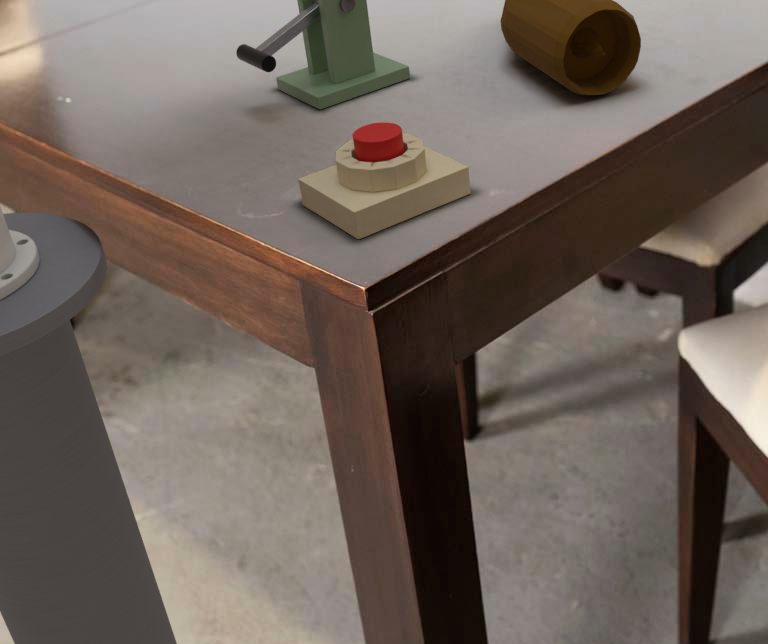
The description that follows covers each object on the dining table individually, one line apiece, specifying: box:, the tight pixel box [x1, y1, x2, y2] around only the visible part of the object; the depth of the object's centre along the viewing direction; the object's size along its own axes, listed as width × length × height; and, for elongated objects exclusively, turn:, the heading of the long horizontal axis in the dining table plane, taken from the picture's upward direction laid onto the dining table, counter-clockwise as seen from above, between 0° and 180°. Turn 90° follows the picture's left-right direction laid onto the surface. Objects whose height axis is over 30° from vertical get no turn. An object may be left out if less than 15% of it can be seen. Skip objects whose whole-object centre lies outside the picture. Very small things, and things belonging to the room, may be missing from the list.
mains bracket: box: [275, 0, 411, 110], centre depth 102 cm, size 10×8×10 cm
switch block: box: [298, 132, 471, 240], centre depth 82 cm, size 10×8×4 cm
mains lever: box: [235, 0, 321, 73], centre depth 99 cm, size 11×5×2 cm, turn 124°
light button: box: [352, 121, 404, 163], centre depth 81 cm, size 4×4×2 cm
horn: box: [500, 0, 642, 96], centre depth 102 cm, size 8×10×25 cm
